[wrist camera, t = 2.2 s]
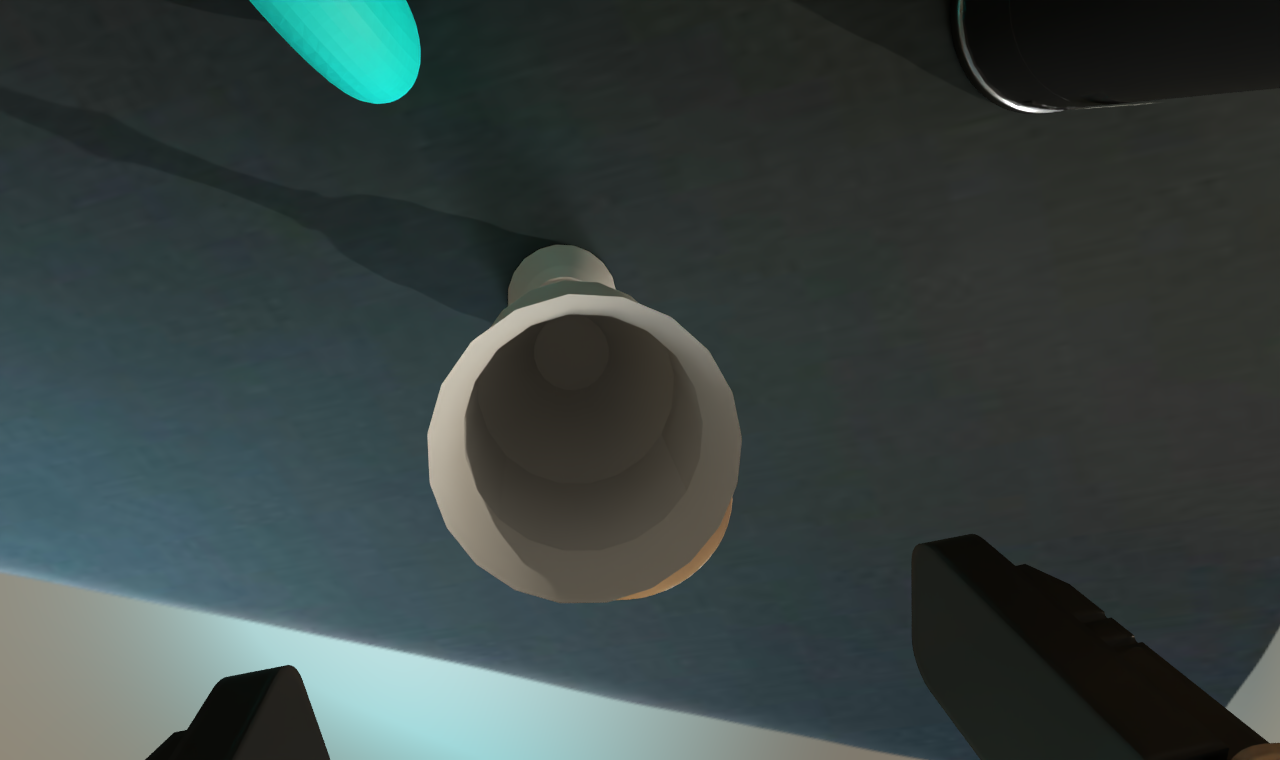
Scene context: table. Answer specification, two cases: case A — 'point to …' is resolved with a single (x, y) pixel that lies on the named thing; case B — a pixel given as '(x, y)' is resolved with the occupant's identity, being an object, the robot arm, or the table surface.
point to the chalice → (582, 438)
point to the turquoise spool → (352, 42)
